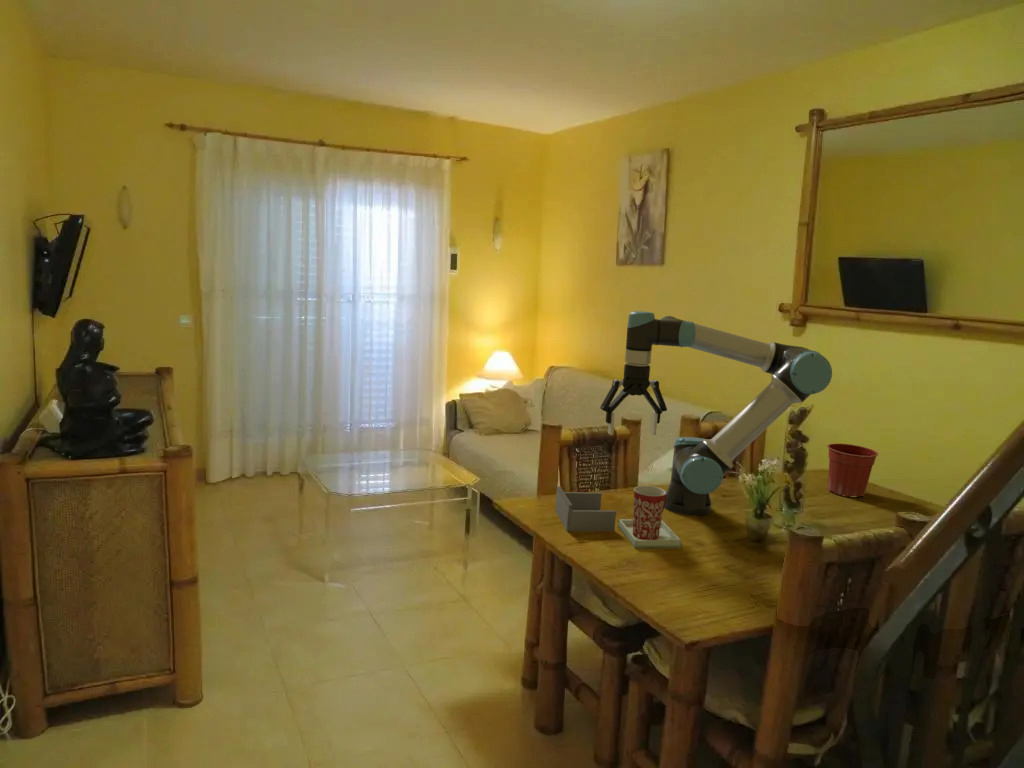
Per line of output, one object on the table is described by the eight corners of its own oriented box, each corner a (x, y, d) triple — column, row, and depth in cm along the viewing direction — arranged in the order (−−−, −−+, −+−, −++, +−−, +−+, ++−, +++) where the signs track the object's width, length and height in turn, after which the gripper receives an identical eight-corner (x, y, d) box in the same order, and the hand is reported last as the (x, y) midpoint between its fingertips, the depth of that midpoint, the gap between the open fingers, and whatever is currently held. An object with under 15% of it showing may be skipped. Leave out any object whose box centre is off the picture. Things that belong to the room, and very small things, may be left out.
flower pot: (882, 499, 256) (889, 455, 253) (842, 501, 252) (849, 456, 249) (849, 484, 272) (855, 443, 269) (811, 486, 267) (817, 443, 265)
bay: (599, 511, 227) (601, 487, 225) (614, 531, 211) (616, 505, 209) (555, 510, 225) (557, 486, 223) (567, 531, 209) (569, 505, 207)
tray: (660, 526, 217) (661, 519, 216) (680, 548, 201) (681, 540, 201) (617, 526, 215) (618, 519, 214) (634, 548, 199) (635, 540, 199)
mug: (649, 544, 201) (654, 497, 198) (623, 534, 207) (627, 488, 205) (675, 534, 209) (679, 489, 207) (649, 524, 216) (653, 481, 213)
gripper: (671, 362, 222) (665, 430, 225) (593, 361, 216) (588, 430, 220) (682, 366, 214) (675, 436, 218) (601, 365, 209) (596, 437, 213)
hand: (631, 434), depth 219 cm, fingers open, 13 cm apart
